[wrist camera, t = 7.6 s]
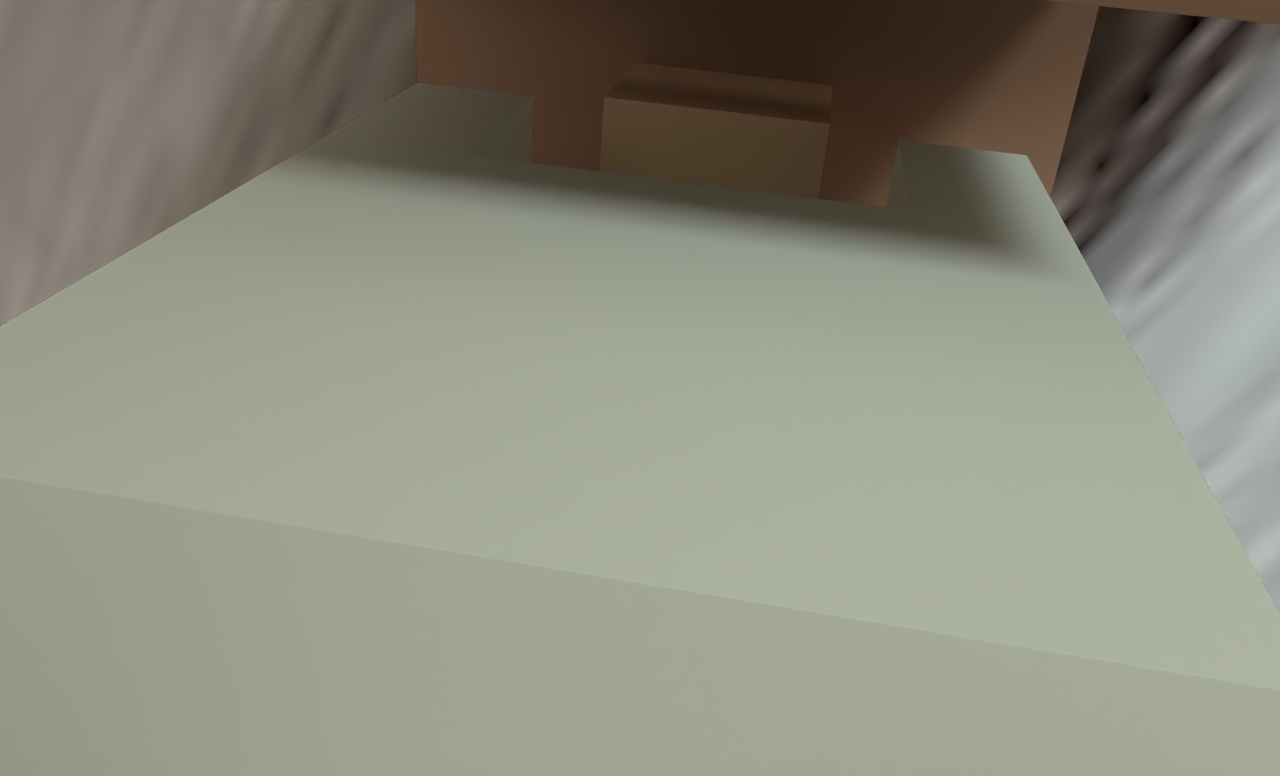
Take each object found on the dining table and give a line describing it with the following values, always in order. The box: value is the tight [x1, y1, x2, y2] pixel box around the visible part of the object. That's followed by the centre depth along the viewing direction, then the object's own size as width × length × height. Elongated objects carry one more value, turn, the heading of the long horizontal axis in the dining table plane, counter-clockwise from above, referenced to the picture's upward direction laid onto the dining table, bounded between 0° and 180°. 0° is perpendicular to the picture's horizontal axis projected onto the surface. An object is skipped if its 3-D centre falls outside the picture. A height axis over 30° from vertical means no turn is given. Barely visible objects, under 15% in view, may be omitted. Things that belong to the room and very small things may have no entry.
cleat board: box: [416, 0, 1280, 207], centre depth 15 cm, size 16×10×10 cm, turn 176°
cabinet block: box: [0, 83, 1280, 776], centre depth 13 cm, size 11×8×10 cm
